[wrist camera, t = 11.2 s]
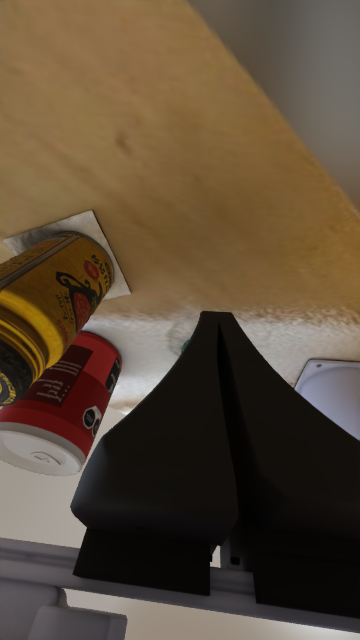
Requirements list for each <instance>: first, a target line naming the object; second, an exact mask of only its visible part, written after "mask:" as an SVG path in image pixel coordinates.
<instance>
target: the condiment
mask: <svg viewBox="0 0 360 640" xmlns="http://www.w3.org/2000/svg"><path fill="white" fill-rule="evenodd" d="M3 242H4V243H5V244H6V245H7V247H8V248H9V249H10V250H11V251H12V252H13V253H14V255H15V257H13V258H10V260H8V261H6V262H4V263H2V264H0V407H1V406H6V405H11V404H14V403H15V402H16V401H17V400H19V399H20V398H22V397H23V396H24V395H26V392H27V391H28V390H29V388H30V387H31V385H32V384H33V382H35V381H36V380H37V379H38V378H39V377H40V376H41V375H42V373H43V372H44V370H45V369H46V368H49V367H51V366H52V365H54V364H55V363H57V361H58V360H59V359H60V358H61V357H62V356H63V354H64V353H65V352H66V350H67V349H68V347H69V346H70V345H71V343H72V342H73V340H74V339H75V337H76V336H77V335H78V333H79V332H80V331H81V329H82V328H83V326H84V325H85V324H86V323H87V322H88V320H89V318H90V316H91V315H92V314H93V313H94V312H95V310H96V308H97V307H98V305H99V304H100V302H101V301H102V300H106V299H111V298H115V297H120V296H124V295H131V292H130V290H129V288H128V286H127V284H126V281H125V279H124V277H123V274H122V272H121V270H120V268H119V266H118V263H117V261H116V259H115V257H114V255H113V253H112V251H111V249H110V247H109V245H108V243H107V240H106V238H105V237H104V234H103V233H102V231H101V229H100V227H99V225H98V223H97V221H96V218H95V216H94V214H93V212H92V210H90V211H87V212H84V213H81V214H78V215H75V216H72V217H69V218H67V219H64V220H61V221H57V222H55V223H52V224H49V225H46V226H43V227H40V228H37V229H34V230H31V231H28V232H25V233H22V234H19V235H16V236H13V237H10V238H7V239H4V240H3Z"/></svg>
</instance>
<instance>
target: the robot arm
mask: <svg viewBox="0 0 360 640" xmlns="http://www.w3.org/2000/svg"><path fill="white" fill-rule="evenodd" d="M70 508H71V511H72V513H73V514H74V515H75V517H76V518H78V519H79V520H80V521H81V522H82V523H83V524H84V525H85V526H86V527H87V529H86V533H85V536H84V539H83V542H82V545H81V548H80V549H79V548H72V547H65V546H58V545H51V544H44V543H36V542H29V541H21V540H13V539H6V538H0V640H124V638H125V632H126V626H127V617H126V615H122V614H116V613H110V612H105V611H99V610H93V609H86V608H78V607H70V606H68V604H67V601H66V600H67V599H66V598H67V597H66V593H65V591H64V589H62V588H66V589H73V590H79V591H86V592H93V593H99V594H105V595H112V596H118V597H125V598H131V599H138V600H144V601H151V602H157V603H164V604H171V605H177V606H184V607H190V608H197V609H203V610H210V611H217V612H224V613H230V614H236V615H243V616H250V617H256V618H262V619H269V620H276V621H283V622H289V623H295V624H302V625H309V626H315V627H322V628H329V629H335V630H341V631H348V632H354V633H360V363H357V362H342V361H328V360H310V361H309V362H308V363H307V365H306V367H305V369H304V371H303V373H302V375H301V377H300V379H299V381H298V383H297V385H296V387H295V389H293V388H292V387H291V386H290V385H289V384H288V383H287V382H286V381H285V380H284V379H283V378H282V377H281V376H280V375H279V374H278V373H277V372H276V371H275V370H274V369H273V368H272V367H271V366H270V364H269V363H268V362H267V361H266V360H265V359H264V358H263V356H262V355H261V354H260V353H259V352H258V350H257V349H256V348H255V346H254V345H253V344H252V342H251V341H250V340H249V338H248V337H247V336H246V334H245V333H244V331H243V330H242V328H241V327H240V325H239V324H238V322H237V321H236V319H235V317H234V316H233V314H232V313H231V312H214V311H202V312H201V313H200V318H199V321H198V324H197V326H196V329H195V331H194V333H193V335H192V337H191V339H190V341H189V342H188V344H187V346H186V347H185V349H184V351H183V352H182V354H181V355H180V357H179V358H178V360H177V361H176V363H175V364H174V365H173V367H172V368H171V369H170V370H169V372H168V373H167V374H166V375H165V377H164V378H163V379H162V380H161V381H160V382H159V384H158V385H157V386H156V387H155V388H154V389H153V390H152V391H151V392H150V393H149V394H148V395H147V396H146V397H145V398H144V399H143V400H142V401H141V402H140V403H139V404H138V405H137V406H136V407H135V408H134V409H133V410H132V411H131V412H130V413H129V414H128V415H126V416H125V417H124V418H123V419H122V420H121V421H120V422H118V423H117V424H116V425H115V426H114V427H113V428H111V429H110V430H109V431H108V432H107V433H106V434H104V435H103V436H102V438H101V439H100V441H99V442H98V444H97V446H96V448H95V449H94V451H93V453H92V455H91V457H90V459H89V461H88V463H87V465H86V467H85V469H84V471H83V473H82V476H81V479H80V481H79V484H78V487H77V489H76V492H75V495H74V498H73V500H72V503H71V506H70ZM217 546H220V563H221V568H218V567H210V562H212V554H213V552H214V551H215V549H216V547H217Z"/></svg>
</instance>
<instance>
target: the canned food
mask: <svg viewBox="0 0 360 640" xmlns="http://www.w3.org/2000/svg"><path fill="white" fill-rule="evenodd" d="M120 372H121V358H120V355H119V353H118V352H117V350H116V349H115V348H114V347H113V346H112V345H111V344H110V343H109V342H107V341H106V340H104V339H103V338H101V337H99V336H97V335H94V334H91V333H87V332H79V333H78V335H77V336H76V337H75V339H74V340H73V342H72V343H71V345H70V346H69V347H68V349H67V350H66V352H65V353H64V354H63V356H62V357H61V358H60V359H59V360H58V361H57V363H55V364H54V365H52V366H51V367H49V368H46V369H45V370H44V372H43V373H42V375H41V376H40V377H39V378H38V379H37V380H36V381H35V382H33V384H32V385H31V387H30V388H29V390H28V391H27V392H26V395H24V396H23V397H22V398H20V399H19V400H17V401H16V402H15V403H14V404H11V405H6V406H3V407H2V409H1V410H0V460H2V461H4V462H6V463H8V464H11V465H13V466H15V467H18V468H21V469H24V470H27V471H31V472H35V473H39V474H45V475H52V476H69V475H73V474H76V473H78V472H80V470H81V469H82V467H83V465H84V463H85V461H86V459H87V456H88V454H89V451H90V449H91V447H92V444H93V442H94V439H95V436H96V434H97V431H98V429H99V426H100V424H101V421H102V418H103V416H104V413H105V411H106V408H107V406H108V403H109V401H110V398H111V395H112V393H113V390H114V388H115V385H116V383H117V380H118V377H119V375H120Z"/></svg>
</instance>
